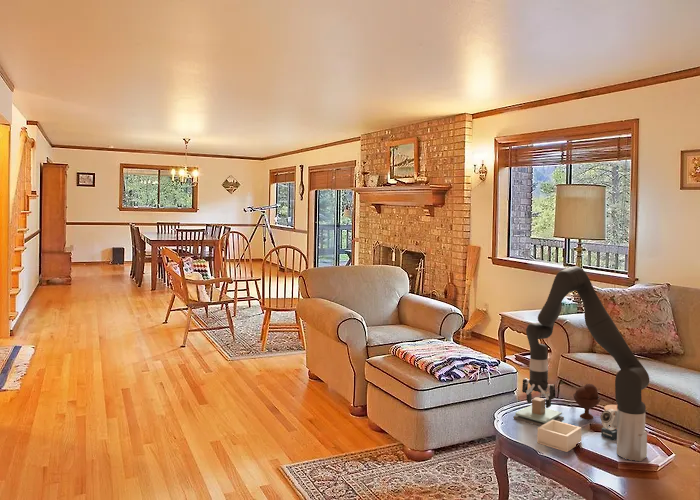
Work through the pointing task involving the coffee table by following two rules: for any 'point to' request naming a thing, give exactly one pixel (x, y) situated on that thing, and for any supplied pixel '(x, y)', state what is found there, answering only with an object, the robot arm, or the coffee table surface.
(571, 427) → the cream open storage box
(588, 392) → the ice cream bowl
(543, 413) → the lid
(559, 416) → the mat
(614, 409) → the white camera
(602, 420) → the watch
